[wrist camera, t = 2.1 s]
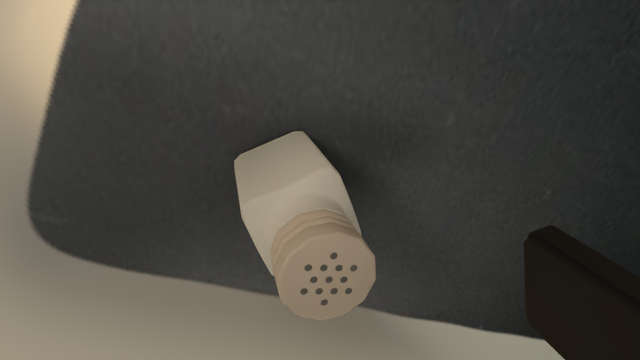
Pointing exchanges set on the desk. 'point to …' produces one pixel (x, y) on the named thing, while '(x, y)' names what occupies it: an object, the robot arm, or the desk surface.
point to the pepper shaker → (304, 227)
